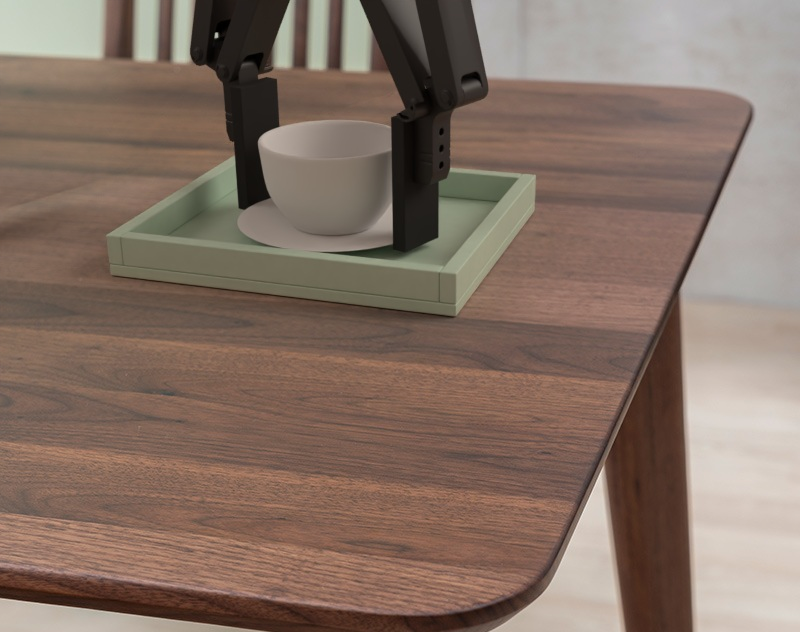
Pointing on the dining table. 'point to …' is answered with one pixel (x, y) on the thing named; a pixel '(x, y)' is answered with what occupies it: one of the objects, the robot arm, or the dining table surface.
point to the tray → (327, 271)
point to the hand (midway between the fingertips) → (335, 222)
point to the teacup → (324, 187)
